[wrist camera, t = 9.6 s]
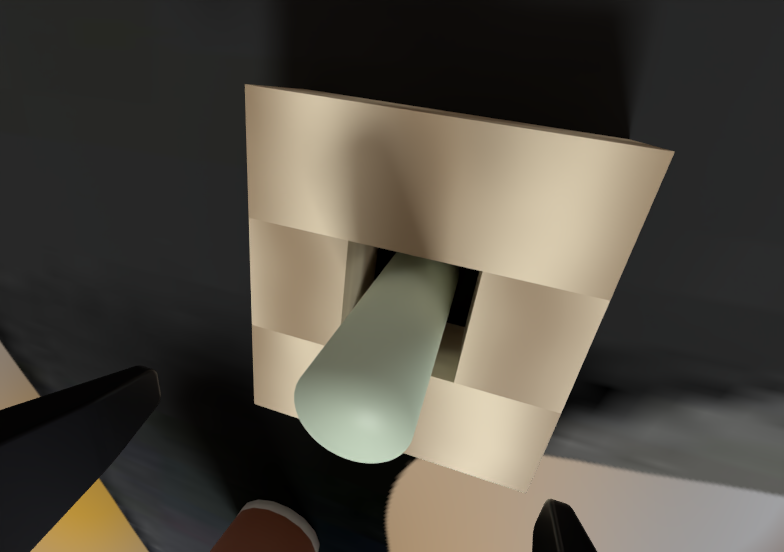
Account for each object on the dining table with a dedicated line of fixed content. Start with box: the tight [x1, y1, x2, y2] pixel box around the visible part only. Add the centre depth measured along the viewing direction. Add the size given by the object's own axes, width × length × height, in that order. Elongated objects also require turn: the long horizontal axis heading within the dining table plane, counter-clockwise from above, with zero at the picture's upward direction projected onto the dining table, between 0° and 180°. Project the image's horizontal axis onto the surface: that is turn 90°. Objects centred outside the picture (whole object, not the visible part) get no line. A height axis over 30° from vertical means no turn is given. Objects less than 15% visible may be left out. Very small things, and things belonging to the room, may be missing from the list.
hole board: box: [245, 84, 674, 493], centre depth 15 cm, size 12×13×4 cm
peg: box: [294, 252, 460, 463], centre depth 13 cm, size 3×3×9 cm
